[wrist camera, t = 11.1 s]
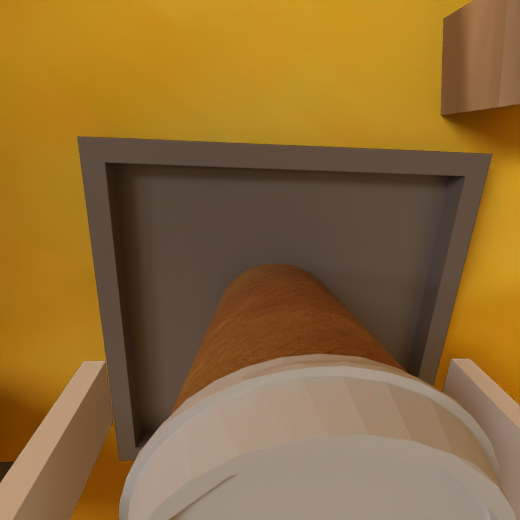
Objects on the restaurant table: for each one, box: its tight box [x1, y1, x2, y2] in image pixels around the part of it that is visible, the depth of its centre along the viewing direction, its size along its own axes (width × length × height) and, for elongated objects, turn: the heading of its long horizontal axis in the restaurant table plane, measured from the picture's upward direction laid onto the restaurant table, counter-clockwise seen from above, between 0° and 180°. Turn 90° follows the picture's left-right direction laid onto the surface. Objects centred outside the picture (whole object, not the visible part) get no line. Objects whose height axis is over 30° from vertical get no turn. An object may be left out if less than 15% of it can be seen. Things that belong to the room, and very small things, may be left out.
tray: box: [78, 137, 492, 461], centre depth 18 cm, size 18×18×2 cm
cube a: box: [441, 0, 520, 115], centre depth 14 cm, size 4×4×4 cm
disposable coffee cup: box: [119, 263, 516, 520], centre depth 13 cm, size 10×10×12 cm
